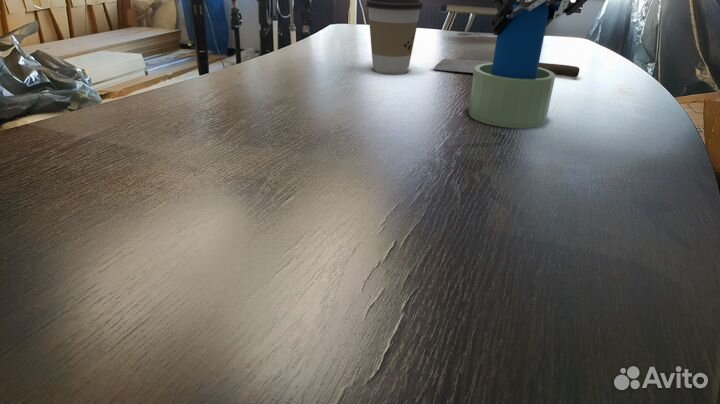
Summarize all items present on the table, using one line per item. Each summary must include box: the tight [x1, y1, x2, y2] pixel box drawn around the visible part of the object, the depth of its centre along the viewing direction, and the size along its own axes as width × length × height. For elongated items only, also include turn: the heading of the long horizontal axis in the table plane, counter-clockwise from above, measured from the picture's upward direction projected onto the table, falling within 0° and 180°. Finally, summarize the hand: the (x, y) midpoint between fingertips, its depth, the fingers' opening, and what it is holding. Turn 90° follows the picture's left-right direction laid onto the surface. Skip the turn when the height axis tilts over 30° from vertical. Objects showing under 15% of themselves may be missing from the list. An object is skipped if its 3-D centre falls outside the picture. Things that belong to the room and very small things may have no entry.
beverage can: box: [491, 0, 549, 79], centre depth 72 cm, size 6×6×12 cm
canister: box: [468, 63, 556, 129], centre depth 76 cm, size 12×12×7 cm
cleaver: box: [433, 58, 580, 78], centre depth 105 cm, size 29×10×2 cm, turn 75°
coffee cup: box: [365, 0, 424, 75], centre depth 101 cm, size 11×11×15 cm
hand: (513, 29), depth 73 cm, fingers closed on beverage can, 6 cm apart
